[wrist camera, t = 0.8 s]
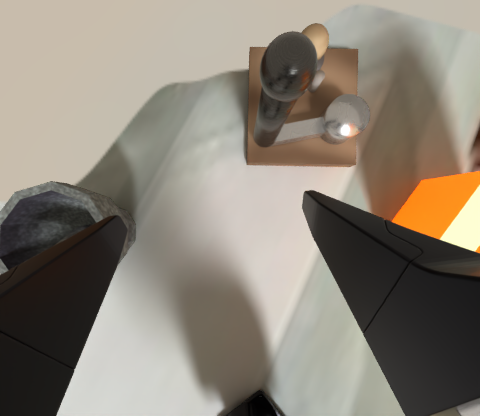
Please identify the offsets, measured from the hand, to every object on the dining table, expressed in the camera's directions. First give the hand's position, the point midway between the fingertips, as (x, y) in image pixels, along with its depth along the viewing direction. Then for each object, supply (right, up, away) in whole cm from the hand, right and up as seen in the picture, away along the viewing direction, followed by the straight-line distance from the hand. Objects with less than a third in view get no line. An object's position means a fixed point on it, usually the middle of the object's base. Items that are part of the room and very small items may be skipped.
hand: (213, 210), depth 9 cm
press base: (+8, +12, +13) cm, 19 cm away
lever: (+8, +8, +11) cm, 16 cm away
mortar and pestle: (-14, -3, +13) cm, 19 cm away
